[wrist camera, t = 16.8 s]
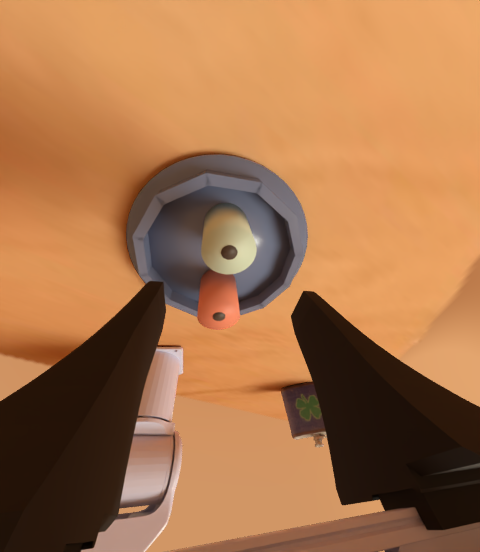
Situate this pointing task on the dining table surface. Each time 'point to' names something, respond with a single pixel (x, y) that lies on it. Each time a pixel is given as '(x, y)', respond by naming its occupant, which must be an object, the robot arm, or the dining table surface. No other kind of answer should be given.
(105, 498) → the robot arm
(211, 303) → the vermilion bead
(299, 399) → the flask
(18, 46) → the dining table surface
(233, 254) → the sage bead
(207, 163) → the round tray
